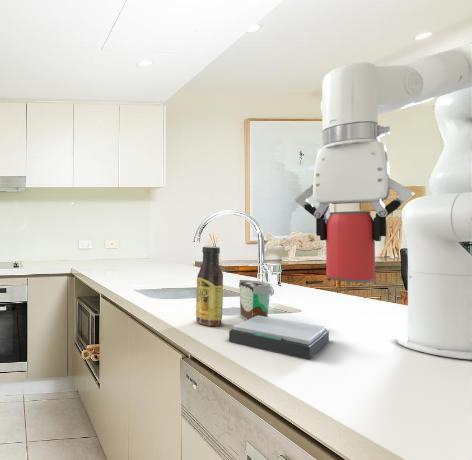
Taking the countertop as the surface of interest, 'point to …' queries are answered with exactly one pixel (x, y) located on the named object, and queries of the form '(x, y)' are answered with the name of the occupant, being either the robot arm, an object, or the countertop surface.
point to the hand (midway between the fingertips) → (349, 239)
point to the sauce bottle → (209, 289)
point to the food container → (254, 298)
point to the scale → (280, 336)
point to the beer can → (350, 246)
